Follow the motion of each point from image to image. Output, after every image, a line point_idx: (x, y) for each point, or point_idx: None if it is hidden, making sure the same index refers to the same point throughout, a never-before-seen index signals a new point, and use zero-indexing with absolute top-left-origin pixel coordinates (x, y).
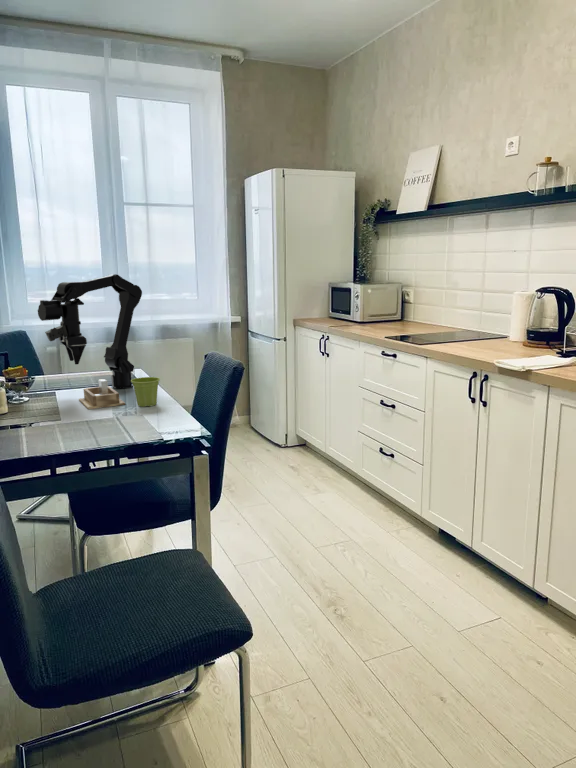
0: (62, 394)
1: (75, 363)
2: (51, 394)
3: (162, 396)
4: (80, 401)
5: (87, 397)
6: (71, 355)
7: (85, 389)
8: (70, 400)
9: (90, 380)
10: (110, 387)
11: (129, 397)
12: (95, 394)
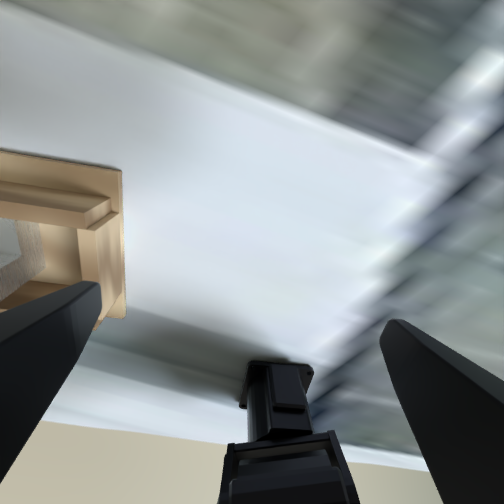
0: (328, 158)
1: (73, 287)
2: (378, 108)
3: None
4: (77, 164)
5: (3, 188)
6: (420, 382)
7: (53, 213)
8: (148, 135)
9: (495, 350)
10: None
11: None
12: (14, 235)
